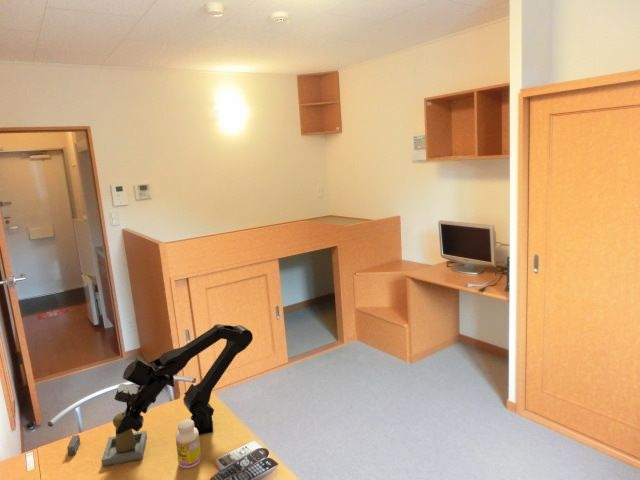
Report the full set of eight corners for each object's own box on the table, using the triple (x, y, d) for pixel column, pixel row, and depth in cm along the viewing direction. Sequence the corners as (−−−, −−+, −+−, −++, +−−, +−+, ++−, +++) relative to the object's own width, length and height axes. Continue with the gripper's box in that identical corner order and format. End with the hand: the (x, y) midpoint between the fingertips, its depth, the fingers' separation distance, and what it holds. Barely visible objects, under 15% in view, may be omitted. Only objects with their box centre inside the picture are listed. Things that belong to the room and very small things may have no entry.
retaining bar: (80, 443, 146) (79, 435, 146) (75, 454, 141) (74, 446, 140) (73, 444, 146) (72, 436, 145) (68, 455, 140) (67, 447, 140)
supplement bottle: (174, 462, 135) (169, 424, 132) (193, 451, 140) (189, 414, 137) (186, 472, 130) (181, 433, 128) (205, 460, 135) (201, 422, 133)
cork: (128, 453, 137) (123, 421, 135) (111, 451, 139) (106, 420, 137) (140, 440, 143) (135, 410, 141) (123, 439, 144) (118, 408, 142)
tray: (147, 437, 148) (146, 430, 147) (142, 459, 137) (141, 452, 137) (110, 444, 145) (109, 437, 145) (102, 467, 134) (101, 459, 134)
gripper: (133, 363, 146) (102, 400, 146) (124, 391, 128) (88, 433, 128) (161, 380, 150) (131, 416, 149) (156, 410, 132) (121, 451, 131)
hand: (118, 428), depth 139 cm, fingers closed on cork, 5 cm apart
